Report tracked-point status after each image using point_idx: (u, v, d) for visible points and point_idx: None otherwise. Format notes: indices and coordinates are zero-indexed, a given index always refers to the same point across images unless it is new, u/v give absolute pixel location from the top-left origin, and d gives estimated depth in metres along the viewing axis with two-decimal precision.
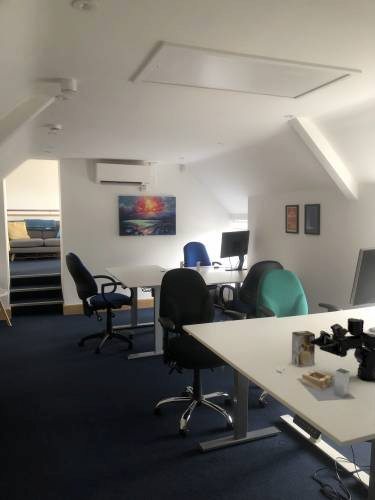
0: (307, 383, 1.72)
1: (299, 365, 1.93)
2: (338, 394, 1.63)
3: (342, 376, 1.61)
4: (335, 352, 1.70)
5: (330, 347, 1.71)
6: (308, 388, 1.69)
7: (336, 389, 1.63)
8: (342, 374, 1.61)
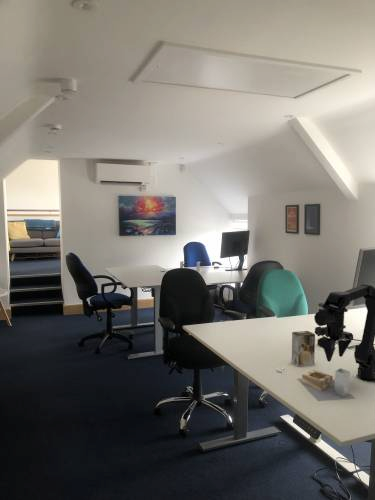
0: (307, 383, 1.72)
1: (299, 365, 1.93)
2: (338, 394, 1.63)
3: (342, 376, 1.61)
4: None
5: (326, 351, 1.65)
6: (308, 388, 1.69)
7: (336, 389, 1.63)
8: (342, 374, 1.61)
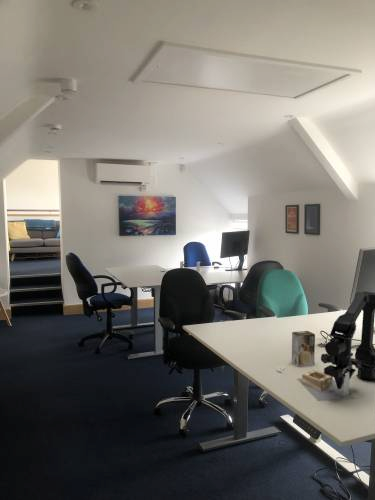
0: (307, 383, 1.72)
1: (299, 365, 1.93)
2: (338, 394, 1.63)
3: None
4: (340, 376, 1.59)
5: (336, 379, 1.61)
6: (308, 388, 1.69)
7: (336, 389, 1.63)
8: None
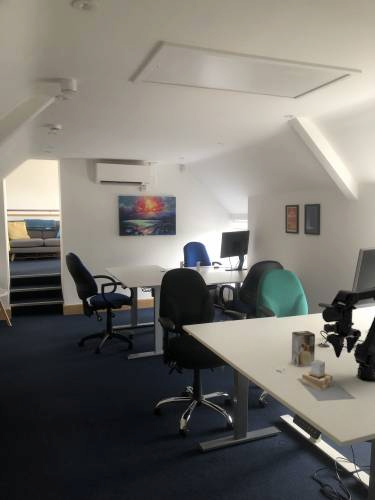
0: (307, 383, 1.72)
1: (299, 365, 1.93)
2: None
3: (317, 366, 1.71)
4: None
5: (335, 348, 1.70)
6: (308, 388, 1.69)
7: None
8: (317, 365, 1.71)
